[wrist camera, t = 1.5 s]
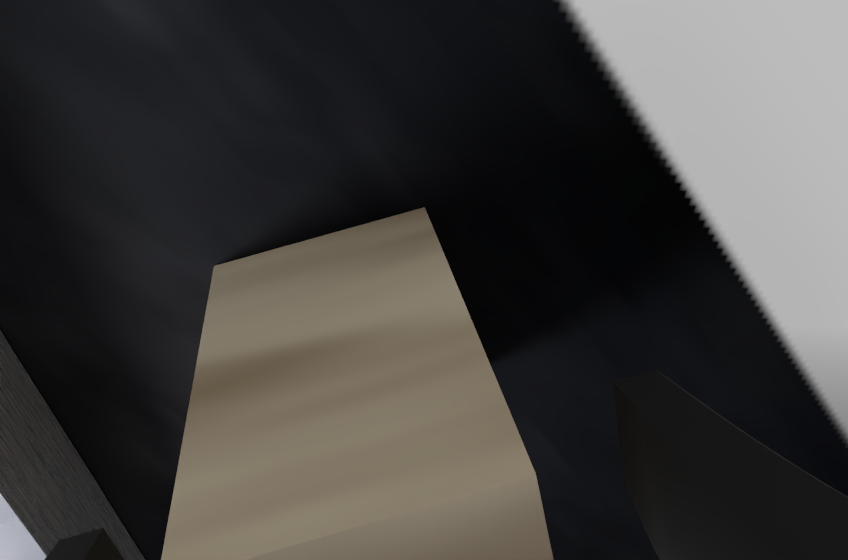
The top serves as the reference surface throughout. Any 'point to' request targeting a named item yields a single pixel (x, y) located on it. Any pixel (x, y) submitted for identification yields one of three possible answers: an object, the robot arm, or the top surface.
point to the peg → (349, 413)
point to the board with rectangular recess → (44, 476)
